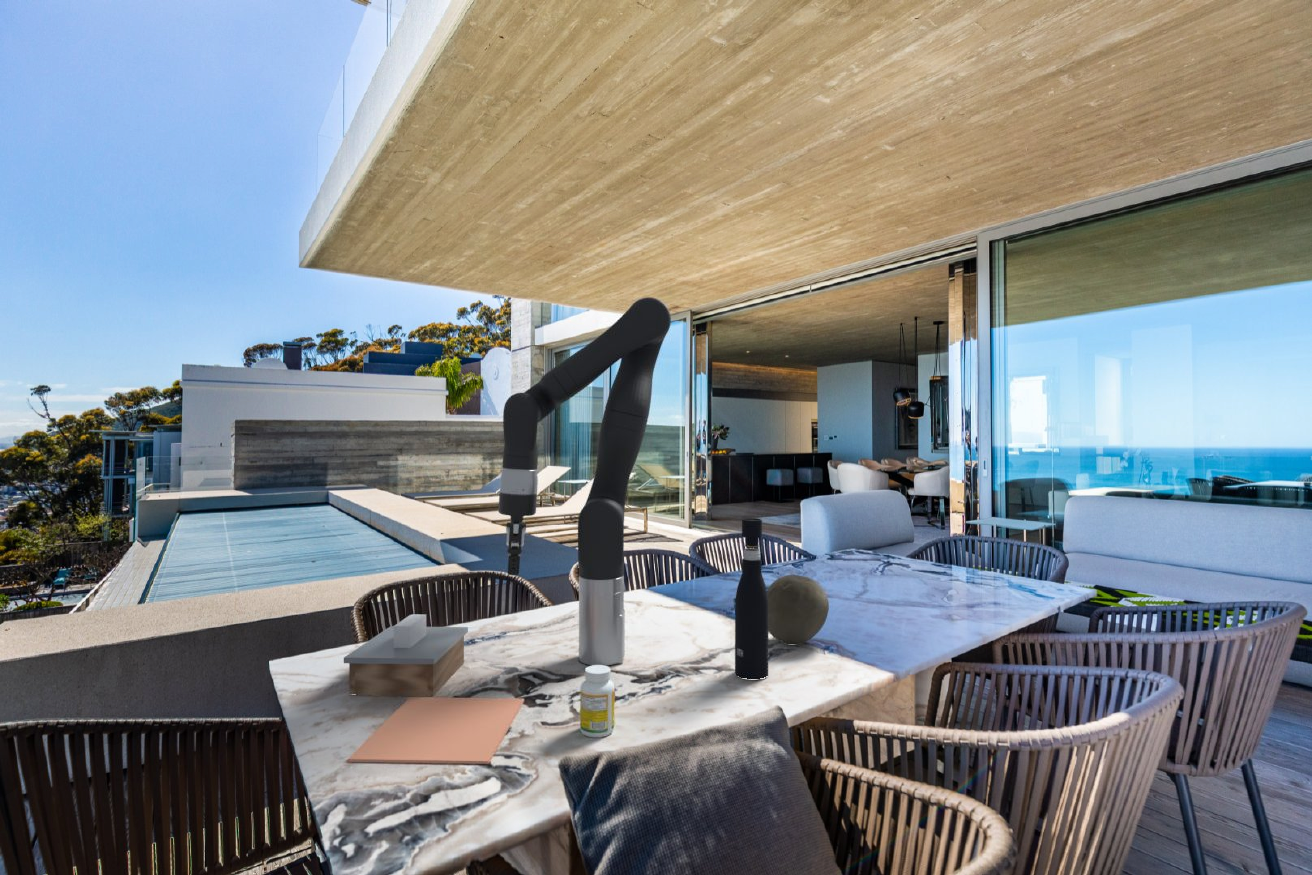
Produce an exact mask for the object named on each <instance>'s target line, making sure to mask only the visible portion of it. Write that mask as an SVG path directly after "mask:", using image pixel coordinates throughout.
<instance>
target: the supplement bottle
mask: <svg viewBox="0 0 1312 875" xmlns="http://www.w3.org/2000/svg"><path fill="white" fill-rule="evenodd" d="M611 672H612V671H611V667H610V666H609V665H589V666H587V667H585V669H584V679H585V680H584V681H583V682H582V683H581V685H580V692H579V694H580V696H579V697H580V701H579V702H580V706H579V707H580V710H579V711H580V714H579V716H580V717H579V720H580V722H579V724H580V727H579V728H580V732H581V734H582V735H584V736H586V737H589V738H604V737H607V736H609V735H611V734H612V733H613V732H614V730H615V695H616V694H615V692H616V690H615V683H614V682H613V680H611V677H612V675H611V674H612V673H611ZM610 733H611V734H610ZM603 736H604V737H603Z"/></svg>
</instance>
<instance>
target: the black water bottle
mask: <svg viewBox="0 0 1312 875" xmlns="http://www.w3.org/2000/svg"><path fill="white" fill-rule="evenodd" d="M741 536H742V537H743V538H744V537H745V540H744V541H745V542H744V543H745V544H744V547H746V548H744V550H743V558H742V559H741V575H740V578H739V581H738V585H737V588H736V593H735V599H734V623H735V624H734V675H735V674H736V675H735V677H737V676H739V677H741V678H747V679H760V678H764V677H766V676H768V677H769V631H768V594H767V590H768V588H767V586H766V583H765V580H764V577H763V574H762V571H763V570H762V569H763V568H762V567H763V566H762V563H763V562H762V560H763V559H761V551H760V550H761V549H759V546H760V544H759V538H761V537H763V520H762V519H761V518H754V517H753V518H752V517H749V518H742V519H741ZM739 677H738V678H739ZM741 678H740V679H741Z"/></svg>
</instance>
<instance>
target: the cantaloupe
mask: <svg viewBox="0 0 1312 875" xmlns="http://www.w3.org/2000/svg"><path fill="white" fill-rule="evenodd" d="M767 594H768V634H770V635H771V636H772V637H773V638H775V639H776V640H778V641H780V642H781V643H783V644H785V643H786V644H785V645H787V644H798V645H801V644H804V643H806V642H808V641H809V640H812V639H813V638H814V637H815V636H816V635H817V634H818V633H819V632H820V631H821V629H822V628H823V627H824V625H825V624H826V621H827V619H828V615H829V610H830V604H829V603H830V602H829V599H828V596H827V593H826V591H825V590H824V589H823V587H822V586H821V585H820V584H819V583H818V582H817V581H816V580H814V579H812V578H810V577H809V576H802V575H799V574H787V575H786V574H785V575H784V576H781V577H778V578H777V579H775V580H773V581H772V583H771V584H770V585H769V587H768V588H767Z"/></svg>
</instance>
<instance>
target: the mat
mask: <svg viewBox="0 0 1312 875" xmlns="http://www.w3.org/2000/svg"><path fill="white" fill-rule="evenodd" d="M524 702H525V698H507V697H506V698H501V697H498V698H495V697H494V698H493V697H490V698H489V697H434V696H409V698H407V699H406V700H405V701H404V703H402V704H401V706H400V707H399V708H398V709H396V711H395V712H393V714H392V715H391V716H389V717H388V718H387V720H385V721H384V722H383V723H382V724H381V725H380V726H379V727H378V728H377V729H376V730H375V732H373V733H372V734H371V735H370V736H369V737H368V738H367V739H366V740H365V741H364V742H363V743H362V744H361V745H360V746H359V747H358V748H357V749H356V750H354V752H353V753H352V754H351V755H350V756H349V757H348V758H347V762H348V763H392V764H393V763H395V764H396V763H400V764H403V763H405V764H407V763H408V764H411V763H412V764H463V765H464V764H466V765H468V764H469V765H489V764H490V763H491V760H492V759H493V758H494V756H495V753H496V751H497V750H498V748H499V747H500V745H501V743H502V741H503V739H504V738H505V735H506V734H507V732H508V731H509V729H510V727H511V725H512V723H513V722H514V720H515V718H516V716H517V715H518V713H519V711H520V709H521V707H522V705H523V704H524Z"/></svg>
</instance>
